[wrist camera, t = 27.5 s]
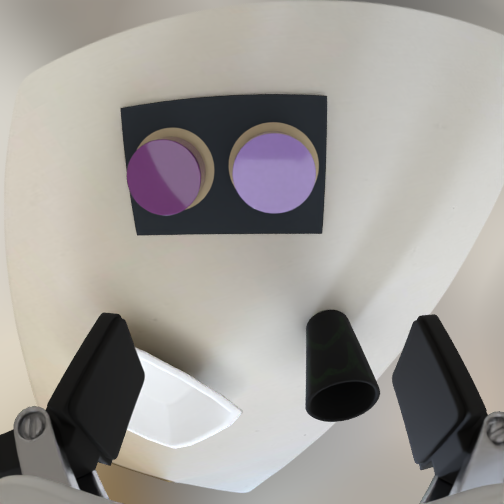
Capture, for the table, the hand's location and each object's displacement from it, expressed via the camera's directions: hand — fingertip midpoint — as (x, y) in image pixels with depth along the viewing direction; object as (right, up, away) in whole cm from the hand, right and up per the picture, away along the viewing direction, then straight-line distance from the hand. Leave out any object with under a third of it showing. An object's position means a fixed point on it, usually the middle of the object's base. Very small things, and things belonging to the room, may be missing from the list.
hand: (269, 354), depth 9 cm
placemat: (-3, +12, +20) cm, 23 cm away
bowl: (-16, -17, +35) cm, 42 cm away
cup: (+9, -6, +29) cm, 31 cm away
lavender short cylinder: (+2, +11, +19) cm, 22 cm away
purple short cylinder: (-8, +11, +20) cm, 24 cm away
